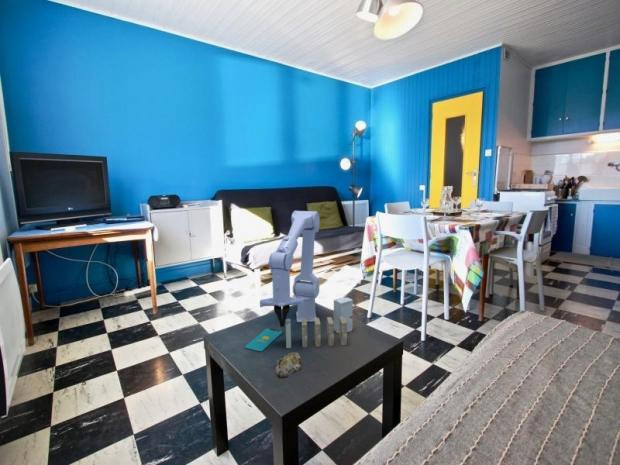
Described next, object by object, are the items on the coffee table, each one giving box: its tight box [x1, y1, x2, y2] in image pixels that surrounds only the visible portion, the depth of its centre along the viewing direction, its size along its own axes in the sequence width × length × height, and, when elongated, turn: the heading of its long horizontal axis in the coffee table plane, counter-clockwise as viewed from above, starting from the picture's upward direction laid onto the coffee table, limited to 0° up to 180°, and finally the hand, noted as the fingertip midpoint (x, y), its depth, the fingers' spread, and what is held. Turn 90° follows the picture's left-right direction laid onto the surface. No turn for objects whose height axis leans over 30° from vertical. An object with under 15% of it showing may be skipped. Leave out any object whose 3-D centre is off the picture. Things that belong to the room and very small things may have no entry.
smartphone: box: [244, 328, 284, 353], centre depth 109 cm, size 7×1×15 cm
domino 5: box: [339, 317, 348, 346], centre depth 106 cm, size 2×5×8 cm, turn 4°
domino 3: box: [313, 317, 322, 347], centre depth 106 cm, size 2×5×8 cm, turn 4°
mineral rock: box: [274, 351, 303, 379], centre depth 92 cm, size 11×4×8 cm
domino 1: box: [285, 318, 292, 349], centre depth 105 cm, size 2×5×8 cm, turn 5°
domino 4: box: [326, 316, 335, 347], centre depth 106 cm, size 2×5×8 cm, turn 4°
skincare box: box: [333, 296, 354, 335], centre depth 114 cm, size 6×4×12 cm
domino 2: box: [301, 318, 308, 348], centre depth 105 cm, size 2×5×8 cm, turn 4°
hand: (282, 325), depth 104 cm, fingers closed
